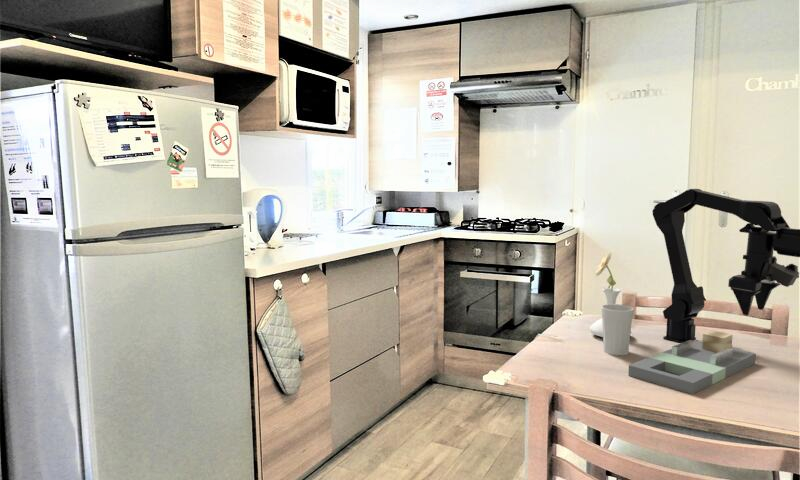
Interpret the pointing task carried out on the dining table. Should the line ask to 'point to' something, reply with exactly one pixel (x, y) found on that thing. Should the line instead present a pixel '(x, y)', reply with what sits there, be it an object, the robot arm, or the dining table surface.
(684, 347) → the channel rails
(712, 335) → the beech block
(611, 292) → the flower in vase
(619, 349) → the cup
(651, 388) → the dining table surface
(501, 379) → the dining table surface
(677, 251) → the robot arm
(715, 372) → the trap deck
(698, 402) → the dining table surface
